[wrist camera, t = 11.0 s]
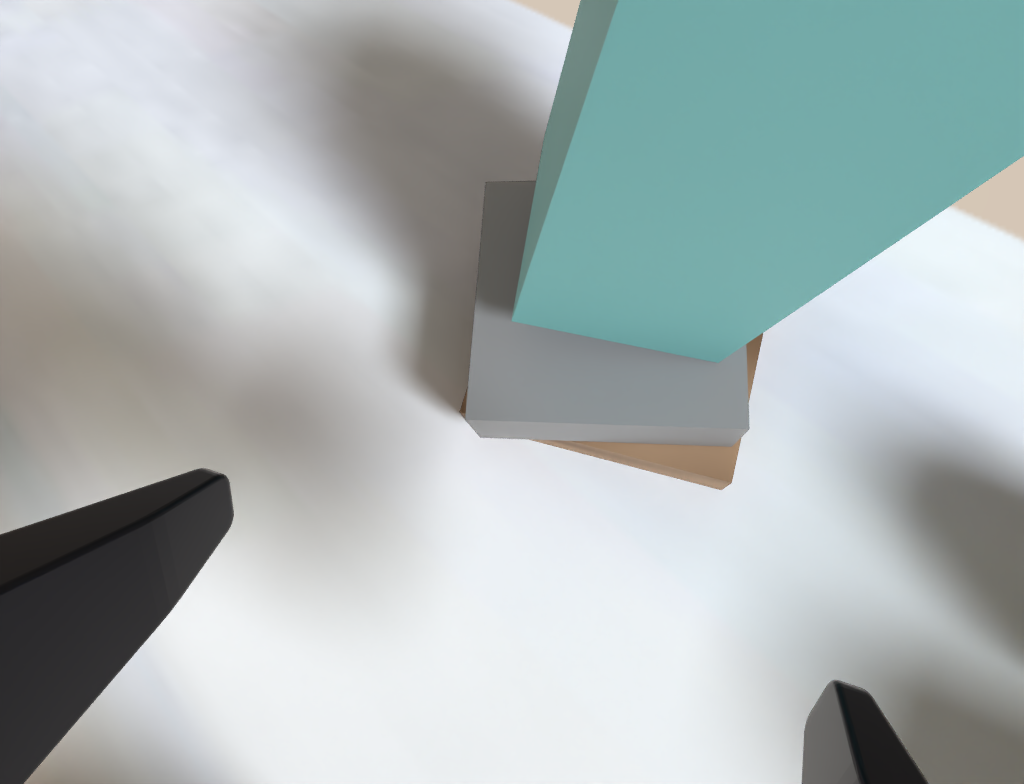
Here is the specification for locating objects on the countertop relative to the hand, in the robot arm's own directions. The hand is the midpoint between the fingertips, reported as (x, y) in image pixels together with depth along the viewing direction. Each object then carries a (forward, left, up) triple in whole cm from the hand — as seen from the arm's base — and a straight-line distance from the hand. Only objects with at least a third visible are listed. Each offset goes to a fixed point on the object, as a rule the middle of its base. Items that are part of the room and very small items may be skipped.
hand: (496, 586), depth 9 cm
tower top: (+8, -2, -11) cm, 14 cm away
